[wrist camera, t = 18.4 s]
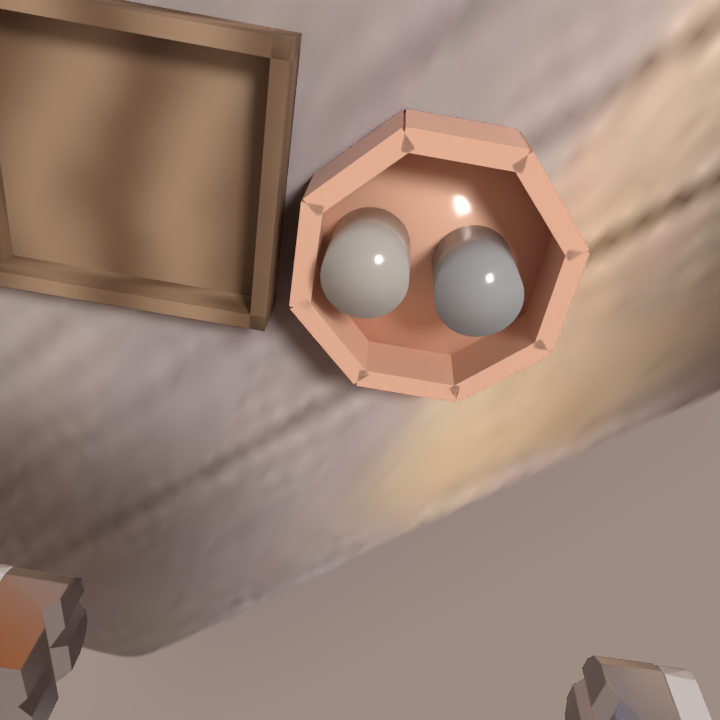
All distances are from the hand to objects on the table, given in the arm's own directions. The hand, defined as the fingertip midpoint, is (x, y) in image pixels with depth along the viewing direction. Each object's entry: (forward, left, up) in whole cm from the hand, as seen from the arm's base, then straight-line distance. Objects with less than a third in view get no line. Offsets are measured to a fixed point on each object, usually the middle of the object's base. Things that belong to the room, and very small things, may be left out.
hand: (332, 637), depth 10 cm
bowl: (-3, +3, -25) cm, 25 cm away
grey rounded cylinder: (-5, +3, -24) cm, 25 cm away
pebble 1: (0, +3, -24) cm, 24 cm away
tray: (+12, +1, -25) cm, 28 cm away
